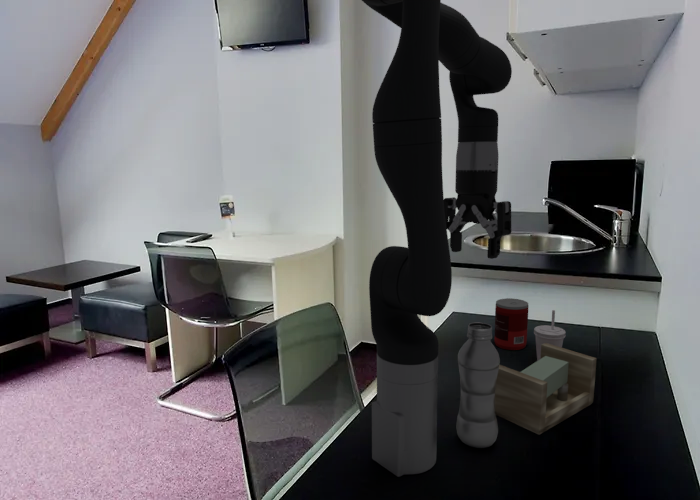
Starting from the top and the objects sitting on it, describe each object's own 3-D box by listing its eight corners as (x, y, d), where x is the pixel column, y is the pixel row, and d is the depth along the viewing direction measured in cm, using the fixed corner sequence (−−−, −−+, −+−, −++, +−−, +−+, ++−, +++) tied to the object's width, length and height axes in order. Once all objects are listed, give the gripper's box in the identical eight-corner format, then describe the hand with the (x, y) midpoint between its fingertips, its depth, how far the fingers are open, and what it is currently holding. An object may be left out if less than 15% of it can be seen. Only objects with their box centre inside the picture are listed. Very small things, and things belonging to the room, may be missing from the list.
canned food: (529, 342, 128) (532, 300, 126) (521, 353, 121) (523, 308, 119) (499, 337, 132) (501, 296, 130) (490, 347, 125) (491, 304, 123)
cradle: (539, 434, 85) (542, 384, 84) (488, 411, 93) (490, 365, 92) (593, 403, 96) (596, 358, 95) (543, 384, 104) (545, 342, 103)
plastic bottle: (490, 458, 79) (495, 335, 75) (449, 445, 82) (452, 328, 79) (502, 438, 84) (507, 323, 81) (463, 427, 88) (466, 317, 84)
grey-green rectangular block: (539, 403, 88) (540, 382, 88) (515, 395, 91) (516, 374, 91) (567, 381, 97) (568, 362, 96) (544, 375, 100) (545, 355, 99)
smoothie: (566, 379, 106) (570, 315, 104) (533, 377, 108) (537, 314, 105) (559, 367, 112) (563, 306, 110) (529, 365, 114) (532, 305, 111)
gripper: (433, 168, 96) (432, 252, 99) (496, 168, 85) (492, 263, 88) (460, 167, 101) (457, 247, 103) (522, 167, 89) (518, 257, 92)
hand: (474, 254), depth 96 cm, fingers open, 8 cm apart
